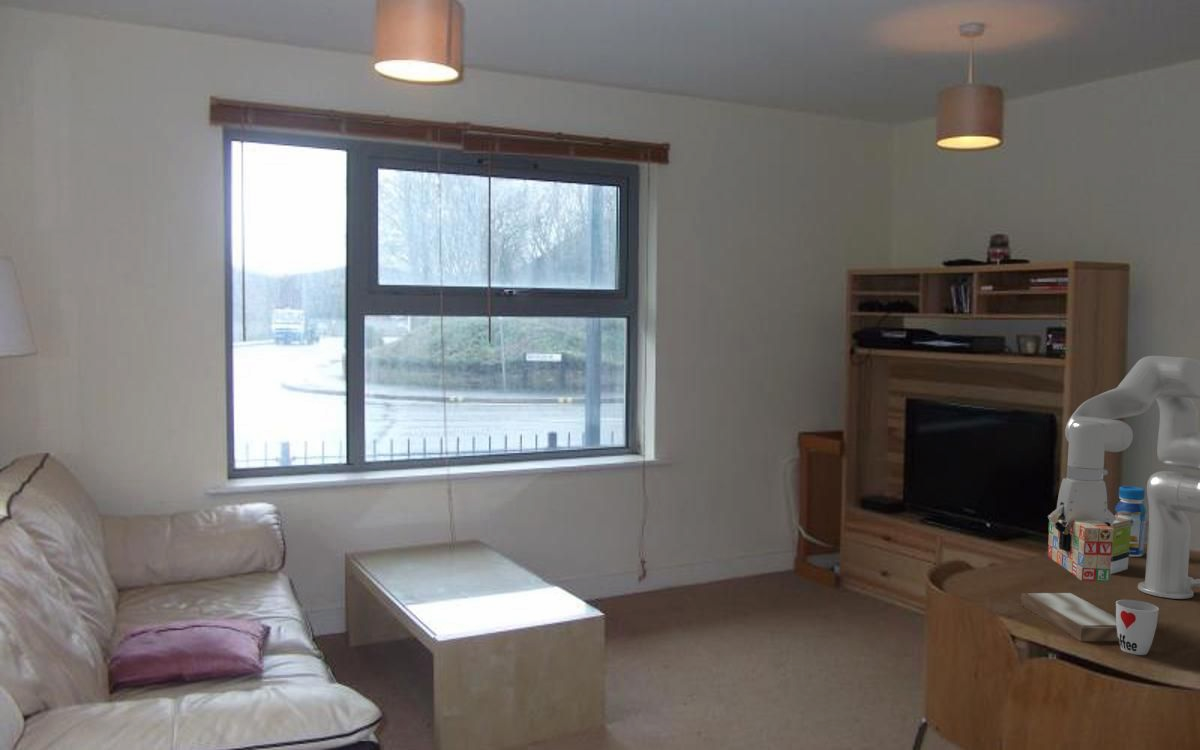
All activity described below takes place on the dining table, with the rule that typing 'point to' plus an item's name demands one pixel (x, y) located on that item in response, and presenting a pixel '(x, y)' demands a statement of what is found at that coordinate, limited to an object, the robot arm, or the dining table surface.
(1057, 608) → the picture frame
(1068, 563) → the stack of blocks
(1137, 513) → the beverage bottle
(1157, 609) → the cup
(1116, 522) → the tea box
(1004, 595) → the dining table surface
